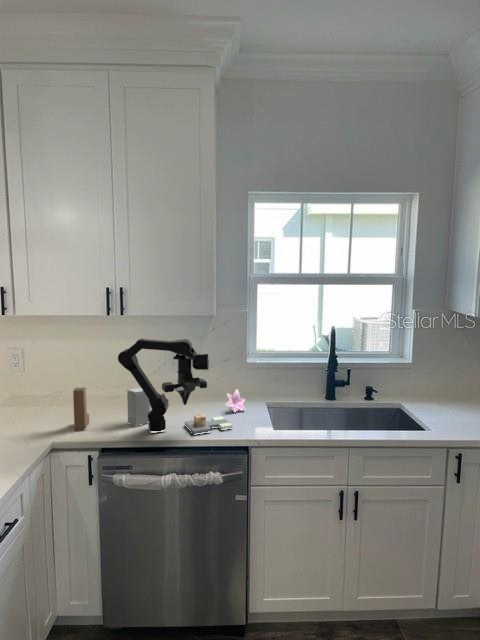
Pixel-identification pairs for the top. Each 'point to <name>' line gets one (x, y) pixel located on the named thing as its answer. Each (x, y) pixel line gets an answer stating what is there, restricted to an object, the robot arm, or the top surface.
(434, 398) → the top surface
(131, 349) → the robot arm
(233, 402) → the lily
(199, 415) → the maple block
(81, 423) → the wooden block
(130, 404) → the skincare box
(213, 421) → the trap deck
